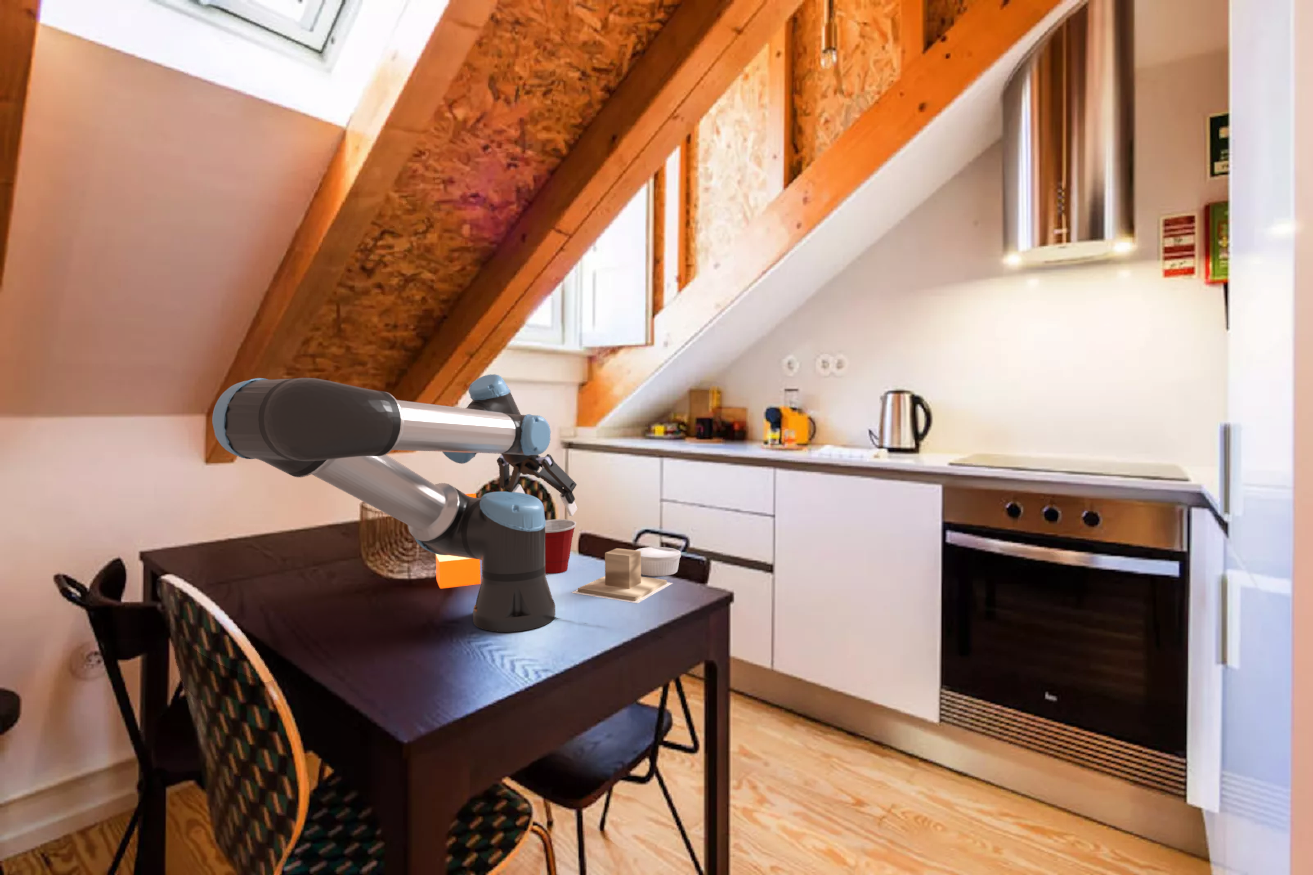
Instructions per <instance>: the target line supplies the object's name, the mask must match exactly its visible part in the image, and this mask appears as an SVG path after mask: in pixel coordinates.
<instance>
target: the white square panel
mask: <svg viewBox="0 0 1313 875" xmlns="http://www.w3.org/2000/svg"><path fill="white" fill-rule="evenodd" d="M671 585H673V582H670V581H669V582H668V581H667V584H665V585H663V586H662V587H660V588H658V589H656V590H655V591H653V592H651V593H649V594H647V595H646V596H644V597H642V598H640V599H638V600H637V601H632V600H626V599H619V598H613V597H607V596H601V595H594V594H588V593H582V592H578V589H576V590H574V591H571V594H577V595H583V596H590V597H597V598H600V599H601V598H603V599H608V600H615V601H620V602H628V603H633V604H639V603H641V602H643V601H644V600H646V599H648V598H650V597H652V596H653V595H655V594H657V593H659V592H660V591H662V590H664V589H666V588H667V587H669V586H671Z"/></svg>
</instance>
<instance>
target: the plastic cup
mask: <svg viewBox="0 0 1313 875" xmlns="http://www.w3.org/2000/svg"><path fill="white" fill-rule="evenodd" d="M545 520H546V526H545V575H546V574H547V575H548V574H550V575H551V574H552V575H554V574H563V573H565V572H567V571H568V568H569V563H570V562H569V560H570V556H571V550H572V549H571V548H572V544H573V542H572V541H573V537H574V532H575V528H576V527H577V526H576V525H577V521H574V520H572V519H564V518H563V519H562V518H560V519H559V518H557V519H556V518H555V519H545Z"/></svg>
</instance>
